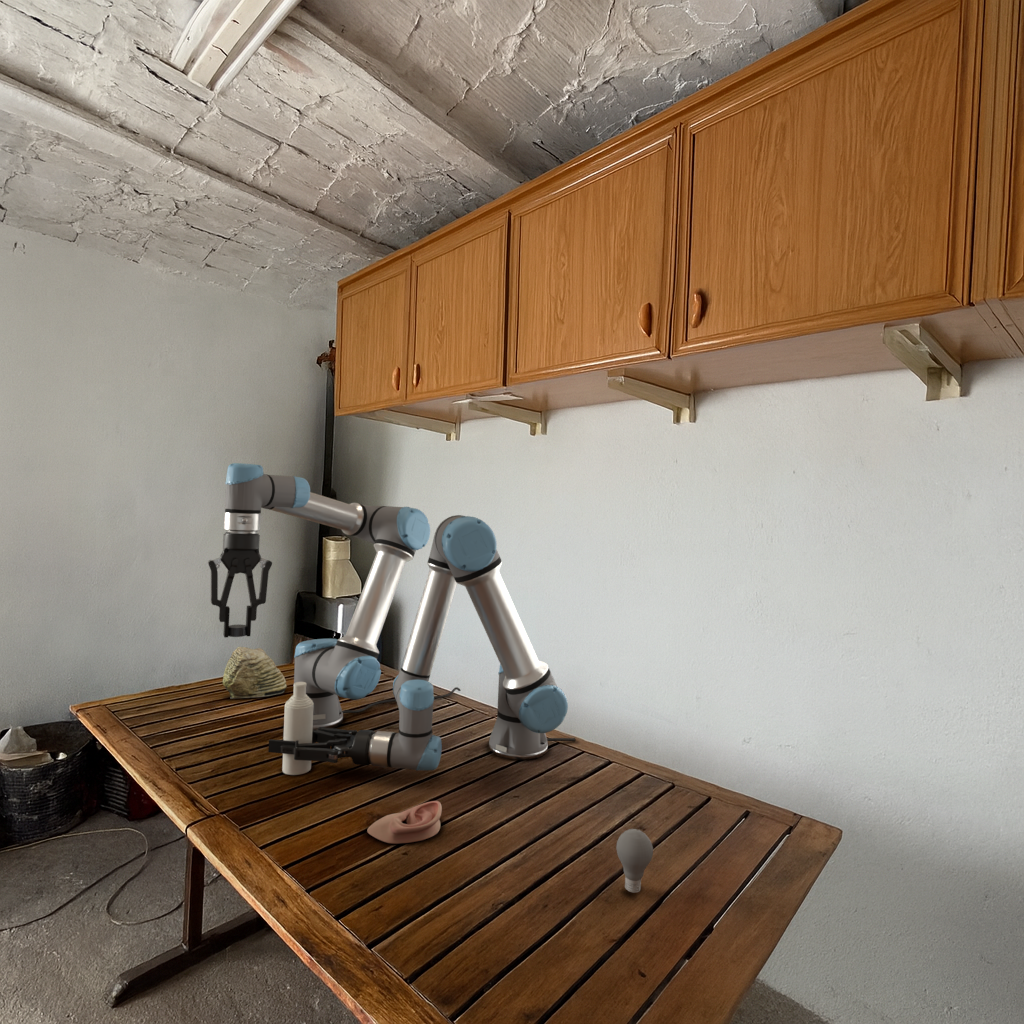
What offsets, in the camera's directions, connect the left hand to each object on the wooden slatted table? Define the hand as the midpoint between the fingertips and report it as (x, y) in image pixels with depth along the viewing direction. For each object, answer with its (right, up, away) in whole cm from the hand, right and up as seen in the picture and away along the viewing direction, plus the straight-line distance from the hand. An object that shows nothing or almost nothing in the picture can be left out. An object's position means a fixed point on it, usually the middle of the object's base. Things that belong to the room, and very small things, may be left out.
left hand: (236, 635), depth 143 cm
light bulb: (+82, -36, -37) cm, 97 cm away
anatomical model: (+41, -33, -21) cm, 57 cm away
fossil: (-19, -29, +55) cm, 65 cm away
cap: (0, +2, 0) cm, 2 cm away
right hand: (+7, -25, +4) cm, 27 cm away
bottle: (+12, -32, +4) cm, 34 cm away
